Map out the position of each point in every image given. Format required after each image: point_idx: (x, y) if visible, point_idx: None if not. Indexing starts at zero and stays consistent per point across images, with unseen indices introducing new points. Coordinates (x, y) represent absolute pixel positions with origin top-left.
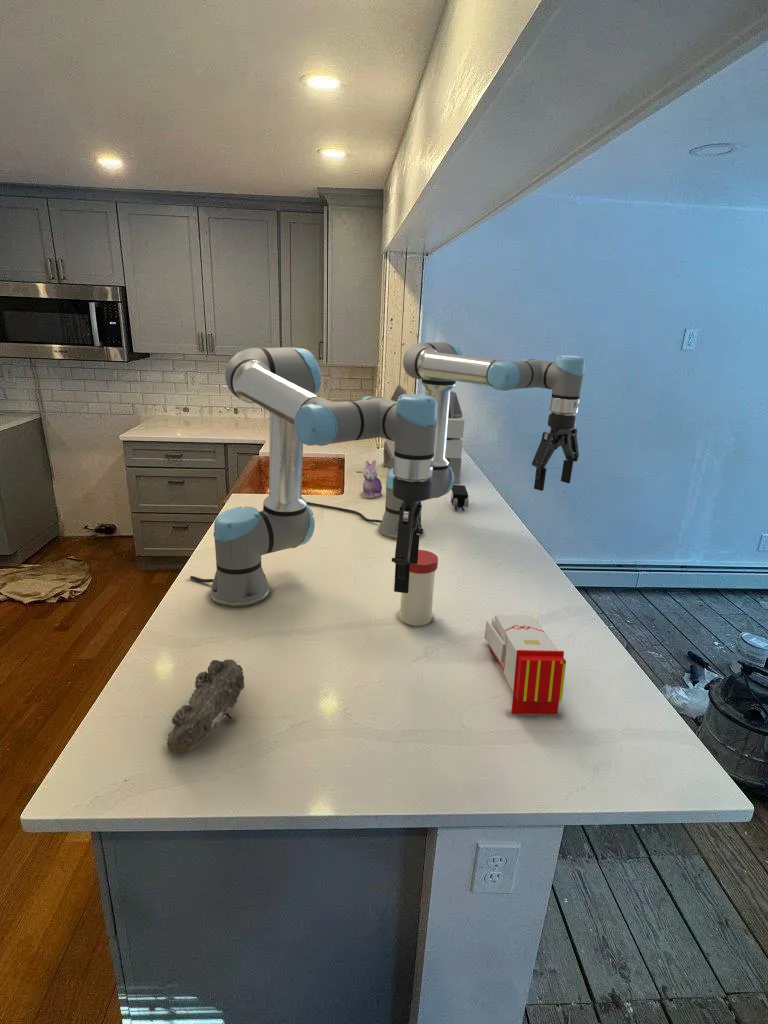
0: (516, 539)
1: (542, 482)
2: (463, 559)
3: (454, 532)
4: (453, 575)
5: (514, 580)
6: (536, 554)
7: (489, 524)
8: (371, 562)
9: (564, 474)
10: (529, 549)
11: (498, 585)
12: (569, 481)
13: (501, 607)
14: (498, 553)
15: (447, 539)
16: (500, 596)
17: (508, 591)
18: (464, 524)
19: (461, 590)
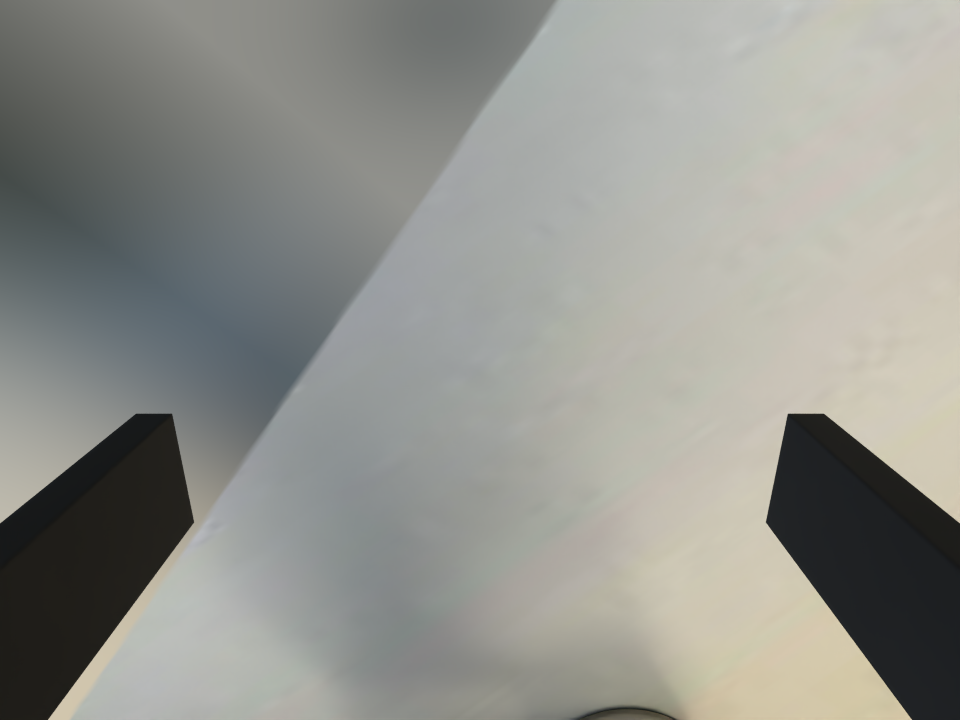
0: (272, 512)
1: (898, 486)
2: (635, 507)
3: (448, 677)
4: None
5: (642, 263)
6: (324, 369)
7: (251, 659)
8: None
9: (129, 556)
10: (307, 419)
11: (739, 275)
12: (141, 424)
13: (919, 134)
14: (465, 467)
15: (527, 650)
16: (827, 203)
17: (759, 212)
18: (347, 705)
19: (891, 336)
